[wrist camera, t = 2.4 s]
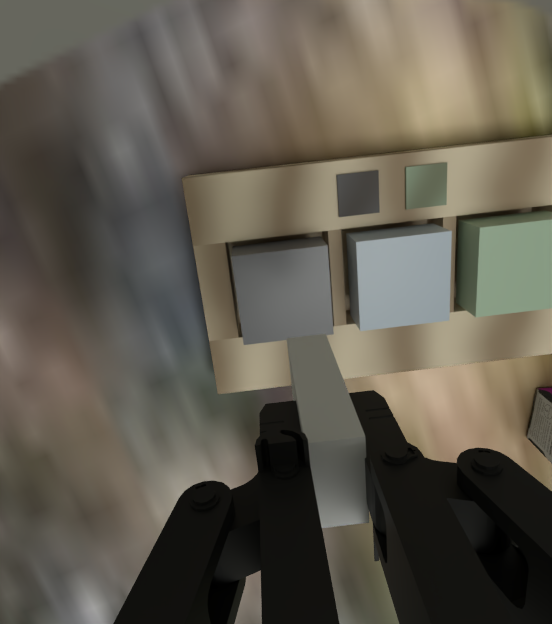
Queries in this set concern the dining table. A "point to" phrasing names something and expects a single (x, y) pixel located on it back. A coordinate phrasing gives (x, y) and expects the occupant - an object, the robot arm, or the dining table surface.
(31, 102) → the dining table surface
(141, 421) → the dining table surface
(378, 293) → the key slate
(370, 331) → the keypad
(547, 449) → the candy bar box
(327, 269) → the key charcoal
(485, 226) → the key sage
